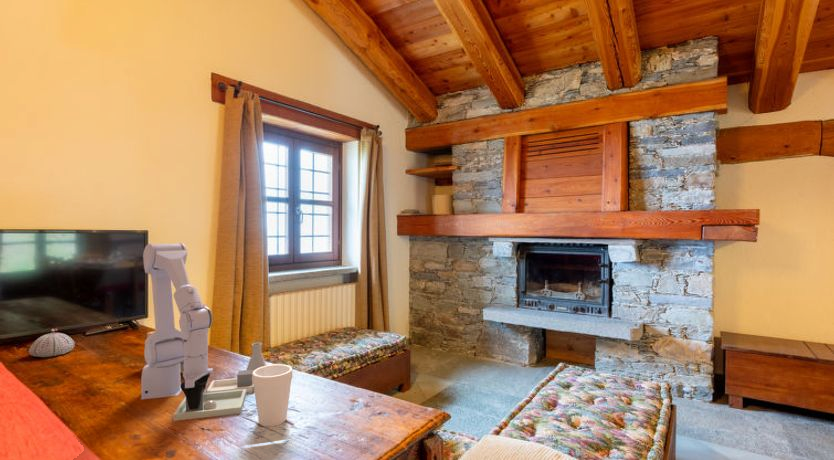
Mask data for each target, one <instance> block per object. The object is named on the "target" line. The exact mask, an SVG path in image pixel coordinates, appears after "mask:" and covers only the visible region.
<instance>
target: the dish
mask: <svg viewBox="0 0 834 460" xmlns="http://www.w3.org/2000/svg"><path fill="white" fill-rule="evenodd" d="M242 389H246V394H248V393H255V392H254V385H252V386H247V387H237V377H235V378H234V377H233V378H224V379H213V380H211V382H210V384H209V386H208V387H207V388H206V393H213V392H222V391H232V390H242Z"/></svg>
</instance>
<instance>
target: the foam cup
mask: <svg viewBox="0 0 834 460" xmlns="http://www.w3.org/2000/svg"><path fill="white" fill-rule="evenodd" d="M292 380H293V367H292V366H291V365H290V364H289V365H287V364H285V363H284V364H282V363H279V364H278V363H277V364H276V363H274V364H268V365H267V364H266V366H263V367H259V368H257V369H256V370H254V371H253V373H252V383H253V385H254V392H253V393H254V397H255V404H256V411H257V419H258V423H259V424H260V426H263V427H275V426H279V425H281V424H283V423H285V421H287V416H288V409H289V399H290V393H291V386H292V385H291V384H292Z"/></svg>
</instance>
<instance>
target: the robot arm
mask: <svg viewBox="0 0 834 460" xmlns="http://www.w3.org/2000/svg"><path fill="white" fill-rule="evenodd" d="M187 249H188V248H187V247H186V245H185V244H184V243H183V242H179V243H154V244H152V243H148V244H146V245H145V247H144V250H143V253H142V258H143V269H144V273H145V274H147V275H149V276H150V279H151V289H152V290H151V291H152V301H153V314H154V325H155V330H154V331H155V332H154V333H152V334H151V335H150V336H149V337H148V338H146V339H145V341H144V351H143V353H144V354H143V356H144V361H145V362H146V365H144V367H143V368H142V371H141V384H140V385H141V387H140V388H141V390H140V391H141V392H140V393H141V397H140V400H147V399H150V400H151V399H160V398H167V397H177V396H179V395H180V393H181V392H183V394H184V396H186V399H187V403H188V406H189V409H190V410H191V409H198V408H199V405H200V399H201V393H202V389H203V388H206V386H207V383H208V380H209V379H210V378H209V377H210V376H211V374H212V373H213V371H214V368H213V367H211V368H210V367H209V335H208V334H209V329H210V328H211V327H212V324H213V315H212V314H213V313H212V311H211V309H210V308H209V307H208V306H206V304H203V302H202V300H201V297H200V294H199V292H198V289H197V288H196V286H194V285H191V284H190V280H189V276H188V273H187V269H186V262H187V259H188V258H187V256H188V250H187ZM172 285H173V287H174V289H175V292H174V293H173V291H172ZM173 298H174V301H173ZM173 302H174V303H175V304H176V307H177V309H178V312H179V314H180V316H179V320H178V324H179V328H180V329H178V328H176V325H175V314H174V313H175V312H174V303H173ZM169 338H175V339H171V340H166V341H161V342H157V341H160V340H164V339H169ZM183 358H184V372H183V373H182V376H183V379H184V381H183V382H182V381H181V380H182V378H181V369H180V362H181V361H183Z"/></svg>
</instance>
